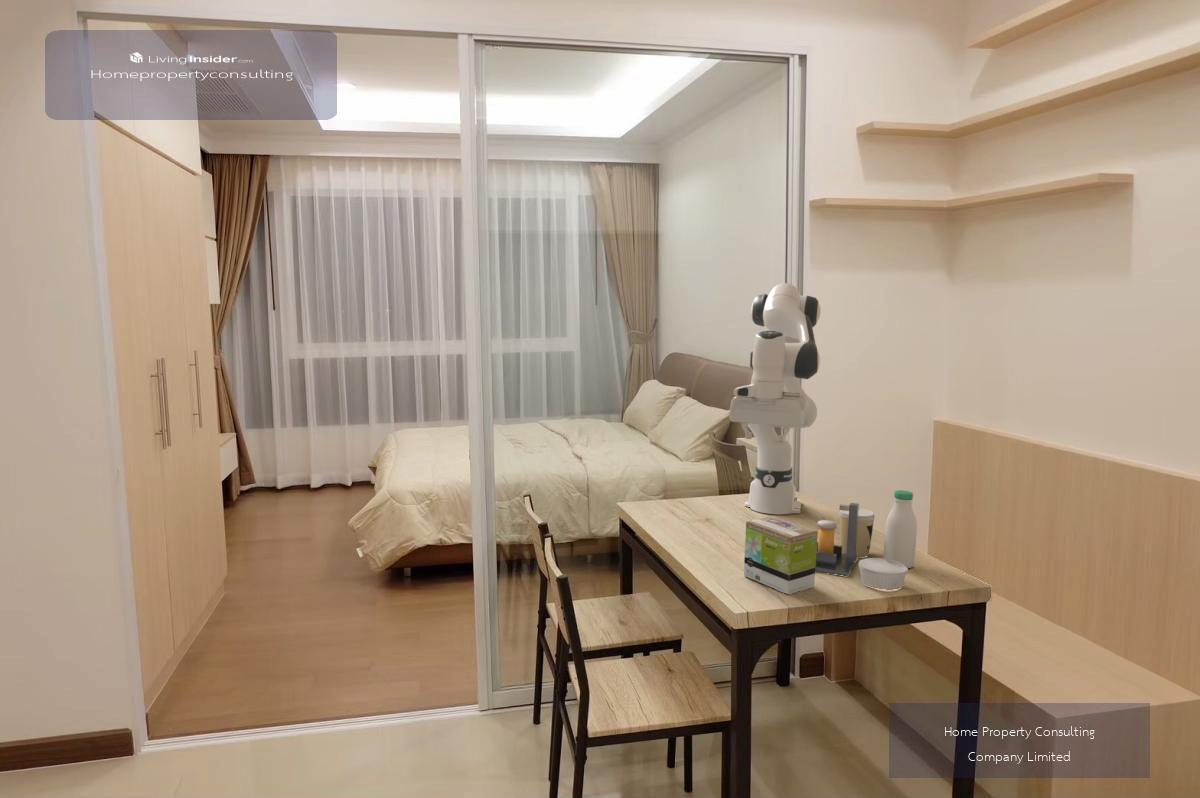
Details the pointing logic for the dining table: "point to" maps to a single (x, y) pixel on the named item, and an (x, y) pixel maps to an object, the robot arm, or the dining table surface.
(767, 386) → the robot arm
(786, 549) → the tea box
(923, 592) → the dining table surface
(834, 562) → the keeper stand
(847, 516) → the coffee cup
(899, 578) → the ramekin
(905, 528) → the milk bottle
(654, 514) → the dining table surface
